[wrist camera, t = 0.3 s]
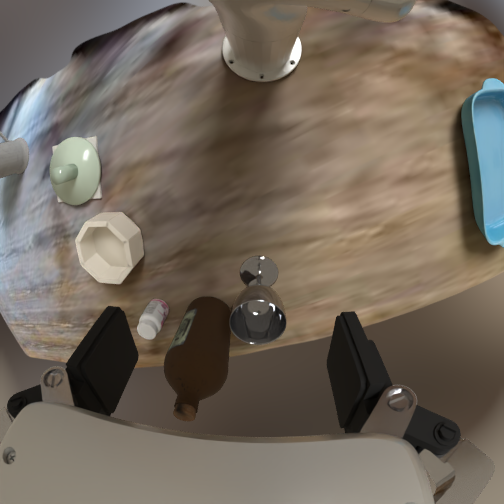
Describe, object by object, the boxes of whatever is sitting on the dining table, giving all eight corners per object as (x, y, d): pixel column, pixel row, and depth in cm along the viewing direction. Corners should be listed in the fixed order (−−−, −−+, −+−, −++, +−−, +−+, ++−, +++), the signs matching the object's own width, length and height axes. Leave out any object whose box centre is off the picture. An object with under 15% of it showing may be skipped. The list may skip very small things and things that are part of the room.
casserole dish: (517, 222, 43) (534, 232, 37) (466, 250, 47) (484, 263, 41) (497, 79, 30) (517, 78, 23) (438, 83, 34) (459, 79, 27)
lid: (50, 143, 40) (31, 146, 35) (99, 131, 40) (81, 132, 34) (56, 206, 46) (39, 214, 40) (104, 201, 45) (88, 210, 40)
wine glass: (246, 296, 53) (242, 349, 39) (231, 261, 50) (220, 310, 36) (286, 284, 51) (293, 336, 38) (272, 247, 48) (276, 293, 35)
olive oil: (245, 309, 54) (235, 415, 31) (219, 341, 58) (202, 439, 35) (198, 284, 52) (161, 384, 29) (177, 318, 56) (140, 413, 33)
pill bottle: (172, 314, 55) (161, 340, 48) (154, 317, 56) (141, 342, 48) (164, 296, 54) (151, 321, 46) (145, 299, 54) (130, 323, 46)
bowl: (88, 212, 47) (71, 222, 41) (139, 210, 46) (125, 220, 41) (99, 267, 52) (85, 281, 46) (148, 270, 51) (136, 285, 46)
